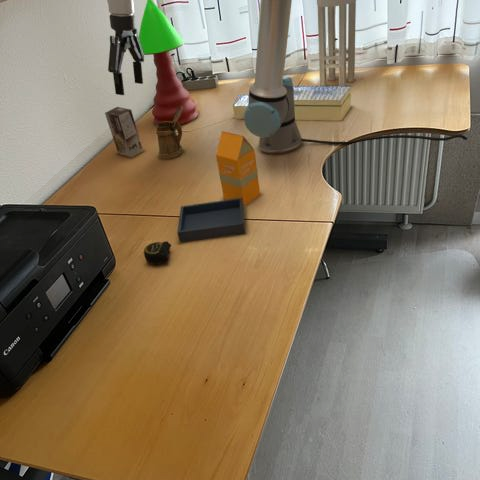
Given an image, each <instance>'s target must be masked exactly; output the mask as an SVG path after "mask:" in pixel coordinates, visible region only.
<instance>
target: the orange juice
mask: <svg viewBox="0 0 480 480" xmlns="http://www.w3.org/2000/svg"><path fill="white" fill-rule="evenodd" d="M215 159H216V163H217V168H218V174H219V180H220V185H221V190H222V191H221V192H222V196H223V199H224V200H229V199H237V198H242V201H243V206H246V205H248V204H249V203H250V202H252V201H253V200H255V199H256V198H258V197H259V196H261V190H260V182H259V173H258V172H259V171H258V167H257V166H258V165H257V157H256V149H255V148H254V147H253V146H252V144H251V143H250V142H249V141H248V140H247V138H246V137H245V136H244V135H240V134H237V133H231V132H227V131H222V130H221V134H220V138H219V142H218V145H217V151H216V154H215Z"/></svg>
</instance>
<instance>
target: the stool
mask: <svg viewBox="0 0 480 480" xmlns="http://www.w3.org/2000/svg"><path fill="white" fill-rule="evenodd" d="M316 5H317V31H318V32H317V33H318V37H317V38H318V67H319V68H318V69H319V70H318V71H319V86H326V87H327V86H328V85H327V82H328V81H330V82H334V81H335V80H336V69H338V87H340V86H343V87H345V86H347V82H349V83H351V82H352V83H353V82H354V81H355V80H356V79H355V78H356V77H355V75H356V74H355V72H356V22H357V21H356V19H357V18H356V17H357V15H356V13H357V0H316ZM347 5H348V6H347ZM336 7H338V49H336ZM326 8H327V22H326ZM347 11H348V12H347ZM326 23H327V28H326ZM326 29H327V31H326ZM326 38H327V39H326ZM327 51H328V52H327ZM336 54H338V55H336ZM327 61H328V63H327ZM336 62H338V63H336ZM327 69H328V73H327ZM327 74H328V81H327Z"/></svg>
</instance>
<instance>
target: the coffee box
mask: <svg viewBox="0 0 480 480" xmlns="http://www.w3.org/2000/svg"><path fill="white" fill-rule="evenodd" d="M104 115H105V118H106V121H107V124H108V128H109V130H110V133H111V136H112V140H113V142H114V145H115V147H116V151H117V154H118V155H122V156H125V157H128V158H134V157H135V156H137V155H140V154H141V153H143V152H144V149H143V146H142V142H141V139H140V135H139V132H138V129H137V125H136V122H135V118H134V114H133V111H132V109H131V108H125V107H120V106H116V107H113V108H111V109H109V110H108V111H106V112H104Z"/></svg>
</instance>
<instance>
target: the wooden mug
mask: <svg viewBox="0 0 480 480" xmlns="http://www.w3.org/2000/svg"><path fill="white" fill-rule="evenodd" d="M182 110H183V107H182V105H181V106H179V108H178V109H177V111H176V112H175V114H174V116H173V119H172V122H170V121H165V122H161V123H158V124H157V125H156V124H155V125H156V126H155V127H156V130H155V134H156V135H157V136H156V137H157V143H158V154H159V158H160V159H163V160H170V159H175V158H178V157H179V156H181V155H182V154H183V152H184V148H183V146H182V145H181V140H182V137H183V128H182V125H180V124H179V123H178V119H179V117H180V115H181V113H182ZM176 131H177V132H176Z"/></svg>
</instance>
